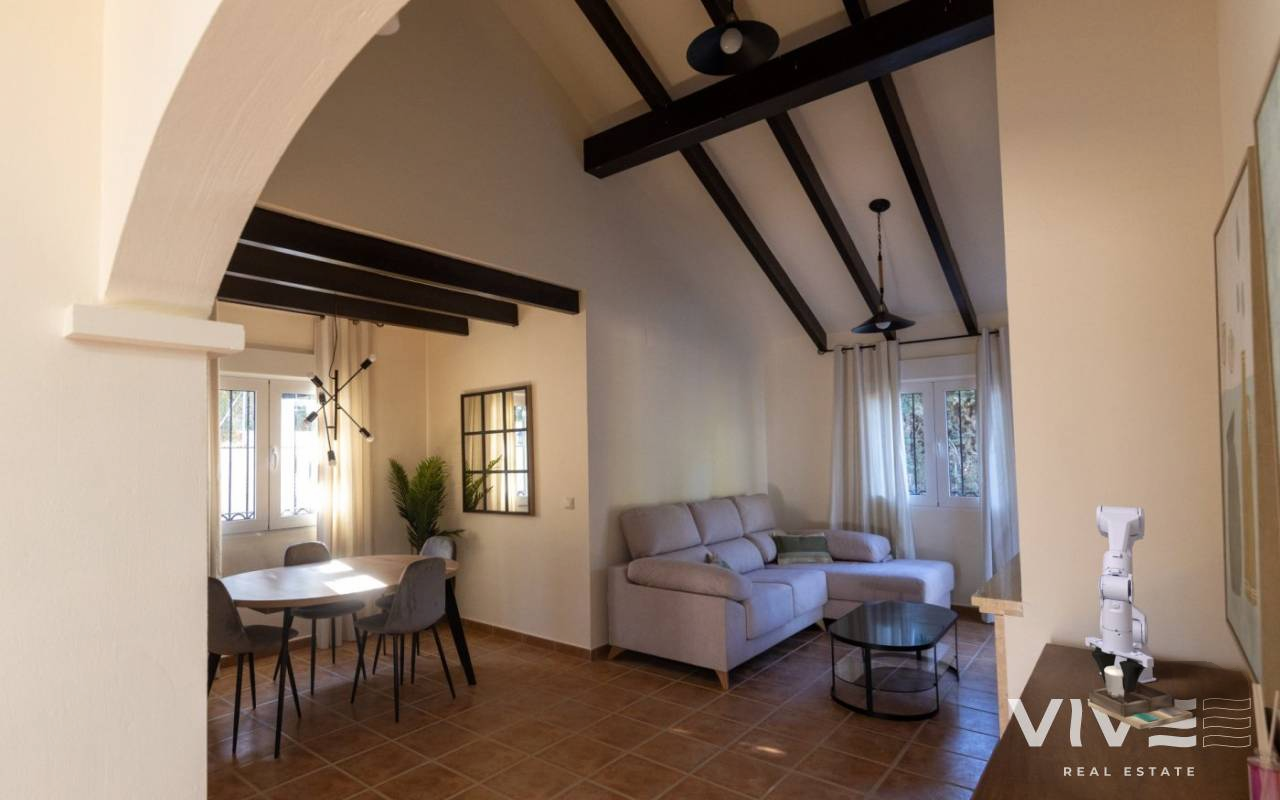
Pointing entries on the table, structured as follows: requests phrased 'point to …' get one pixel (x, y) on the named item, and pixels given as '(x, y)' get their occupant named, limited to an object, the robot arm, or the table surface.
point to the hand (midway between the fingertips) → (1119, 687)
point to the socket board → (1140, 707)
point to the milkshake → (1115, 684)
